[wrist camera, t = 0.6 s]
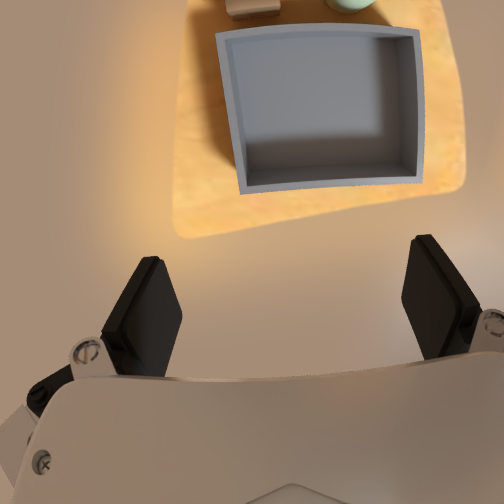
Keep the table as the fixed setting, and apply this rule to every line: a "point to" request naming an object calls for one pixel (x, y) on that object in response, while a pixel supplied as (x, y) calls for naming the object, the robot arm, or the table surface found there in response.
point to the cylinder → (348, 5)
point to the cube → (252, 8)
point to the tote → (324, 105)
